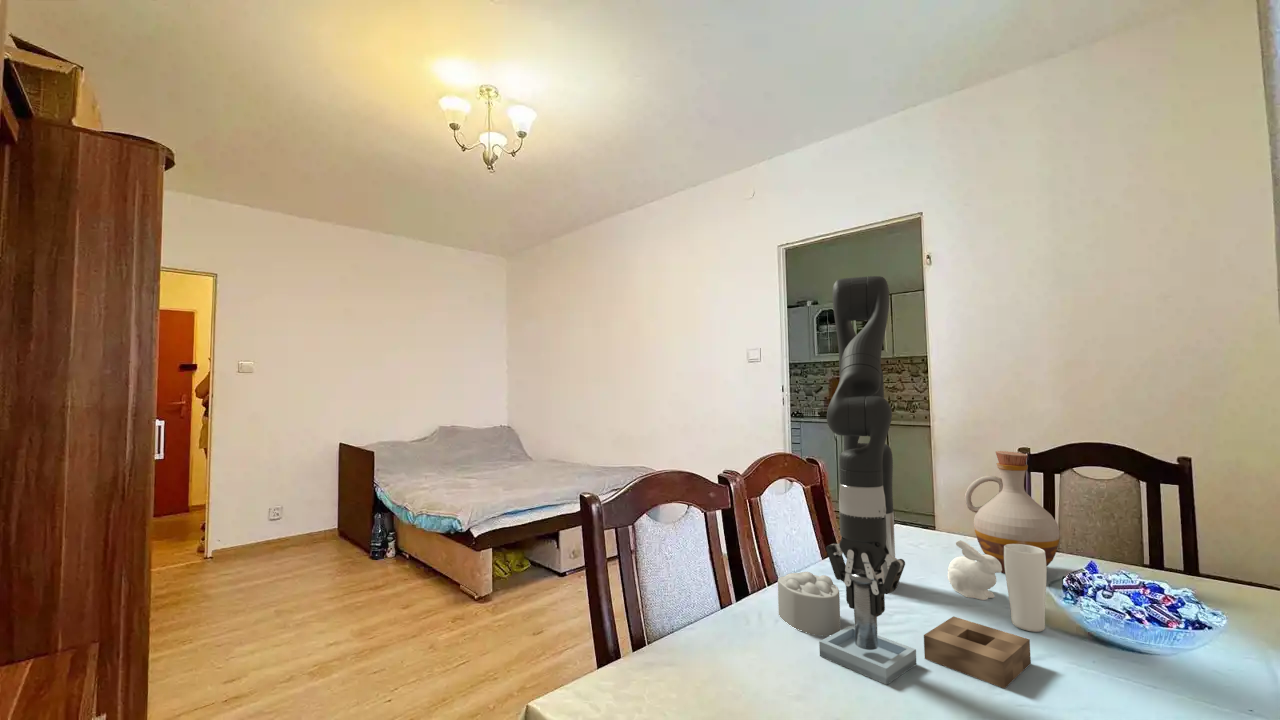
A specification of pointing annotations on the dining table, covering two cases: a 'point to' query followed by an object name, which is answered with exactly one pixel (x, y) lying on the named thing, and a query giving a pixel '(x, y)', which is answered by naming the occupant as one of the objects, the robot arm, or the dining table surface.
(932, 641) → the socket block
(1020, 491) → the jug
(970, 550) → the rabbit
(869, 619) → the pin
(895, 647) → the tray
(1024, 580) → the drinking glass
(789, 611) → the lumpy-topped squat cylinder
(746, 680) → the dining table surface
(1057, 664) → the dining table surface
